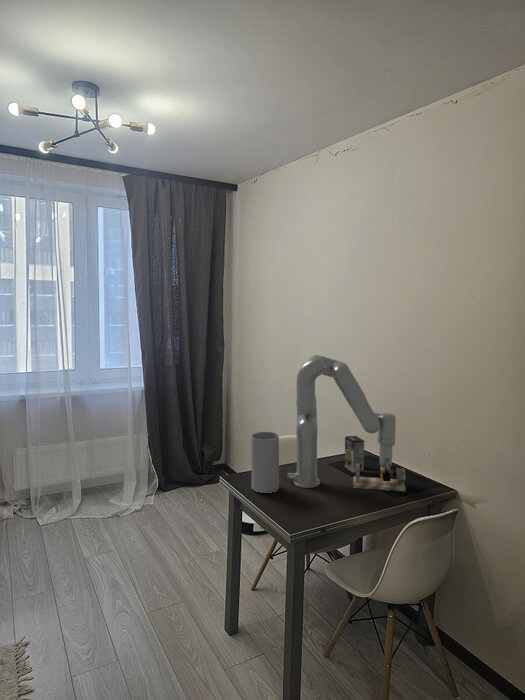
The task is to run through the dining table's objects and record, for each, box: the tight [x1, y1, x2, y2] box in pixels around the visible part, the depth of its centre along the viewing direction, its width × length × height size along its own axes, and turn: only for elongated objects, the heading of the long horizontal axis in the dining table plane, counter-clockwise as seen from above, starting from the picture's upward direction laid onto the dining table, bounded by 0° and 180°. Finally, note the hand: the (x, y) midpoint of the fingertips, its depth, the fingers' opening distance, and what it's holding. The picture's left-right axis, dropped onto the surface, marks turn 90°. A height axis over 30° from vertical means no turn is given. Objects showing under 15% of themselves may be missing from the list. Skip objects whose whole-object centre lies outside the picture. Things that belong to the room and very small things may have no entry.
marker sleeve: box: [379, 466, 384, 479], centre depth 212 cm, size 4×4×4 cm
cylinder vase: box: [250, 431, 280, 494], centre depth 209 cm, size 12×12×25 cm
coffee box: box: [344, 435, 365, 474], centre depth 233 cm, size 9×6×16 cm
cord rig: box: [352, 464, 407, 492], centre depth 213 cm, size 23×10×9 cm, turn 79°
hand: (385, 477), depth 212 cm, fingers open, 9 cm apart
